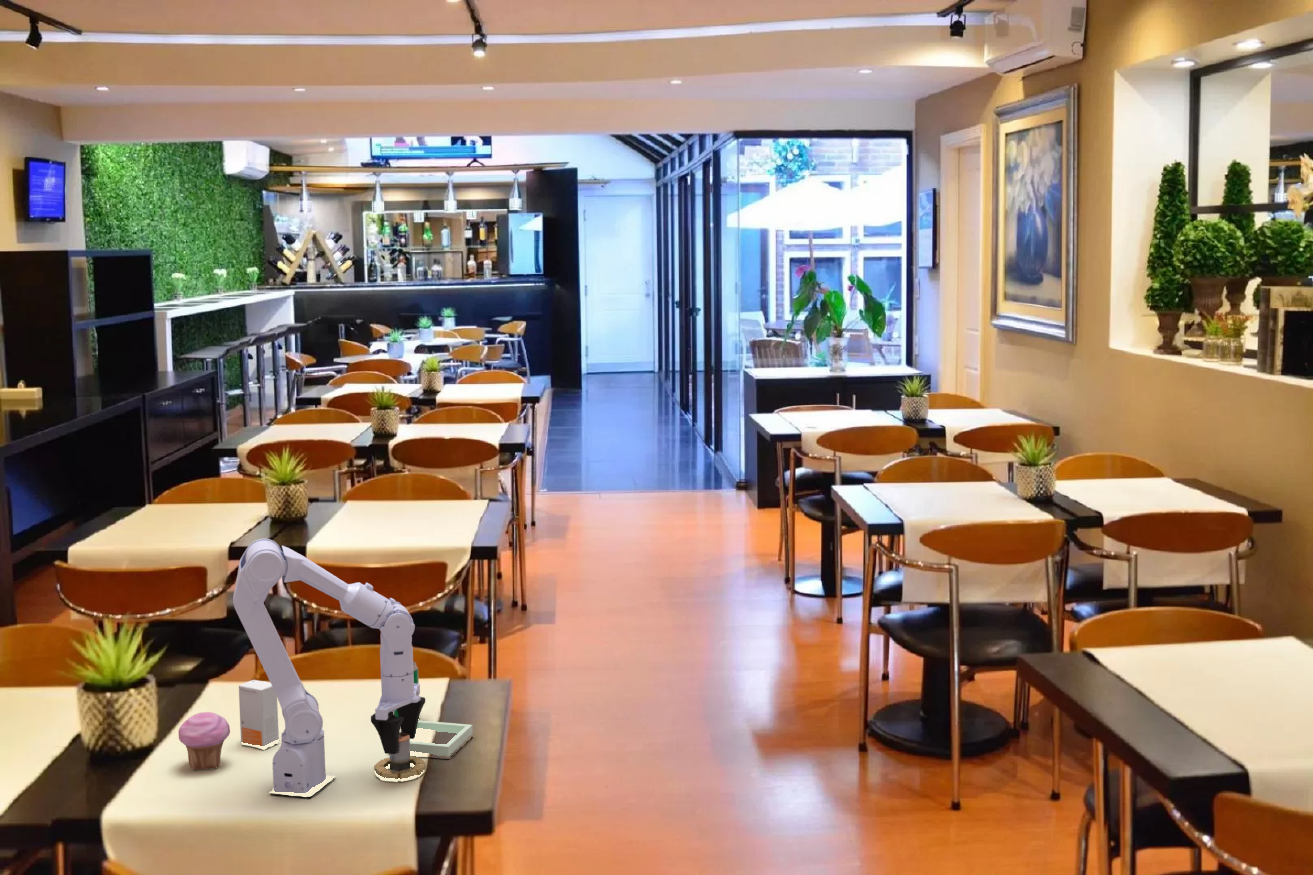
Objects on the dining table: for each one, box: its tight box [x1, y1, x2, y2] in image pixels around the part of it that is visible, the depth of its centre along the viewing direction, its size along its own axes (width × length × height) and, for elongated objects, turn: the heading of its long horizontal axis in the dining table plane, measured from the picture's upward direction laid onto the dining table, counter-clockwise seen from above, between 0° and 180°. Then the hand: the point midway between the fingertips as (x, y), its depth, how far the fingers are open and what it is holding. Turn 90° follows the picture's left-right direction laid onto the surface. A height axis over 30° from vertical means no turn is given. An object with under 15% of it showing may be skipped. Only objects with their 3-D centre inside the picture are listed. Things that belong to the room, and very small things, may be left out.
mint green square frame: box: [410, 719, 474, 757], centre depth 253 cm, size 12×12×2 cm
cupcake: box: [178, 711, 231, 771], centre depth 243 cm, size 9×9×10 cm
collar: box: [373, 756, 427, 779], centre depth 240 cm, size 9×9×2 cm
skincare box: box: [238, 679, 280, 746], centre depth 253 cm, size 6×4×12 cm
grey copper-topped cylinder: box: [389, 731, 411, 771], centre depth 239 cm, size 4×4×7 cm
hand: (399, 745), depth 239 cm, fingers open, 7 cm apart
